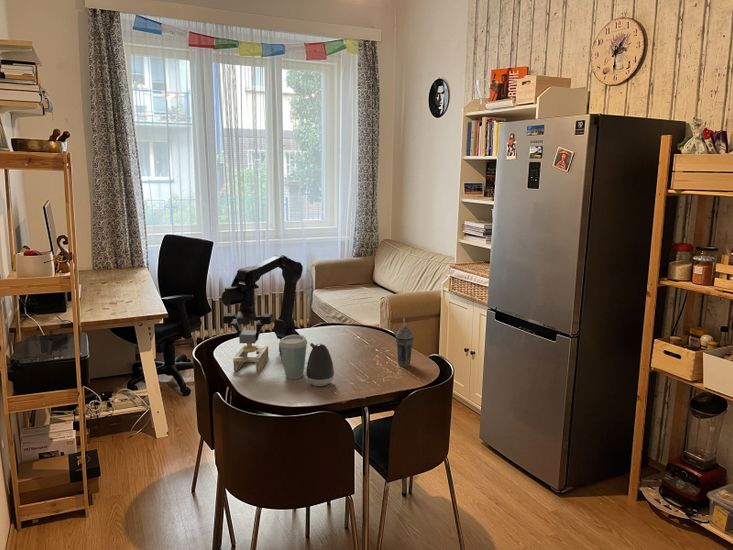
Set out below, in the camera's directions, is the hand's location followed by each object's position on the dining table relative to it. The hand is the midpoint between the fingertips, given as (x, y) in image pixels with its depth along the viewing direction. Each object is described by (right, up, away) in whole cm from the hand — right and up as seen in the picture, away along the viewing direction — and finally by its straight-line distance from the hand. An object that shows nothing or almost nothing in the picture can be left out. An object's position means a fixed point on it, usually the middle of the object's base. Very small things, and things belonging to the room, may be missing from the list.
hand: (249, 339), depth 226 cm
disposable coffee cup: (+18, -13, -7) cm, 24 cm away
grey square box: (0, -4, +1) cm, 4 cm away
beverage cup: (+61, -11, +6) cm, 62 cm away
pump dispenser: (+29, -15, -14) cm, 35 cm away
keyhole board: (0, -11, +5) cm, 12 cm away
